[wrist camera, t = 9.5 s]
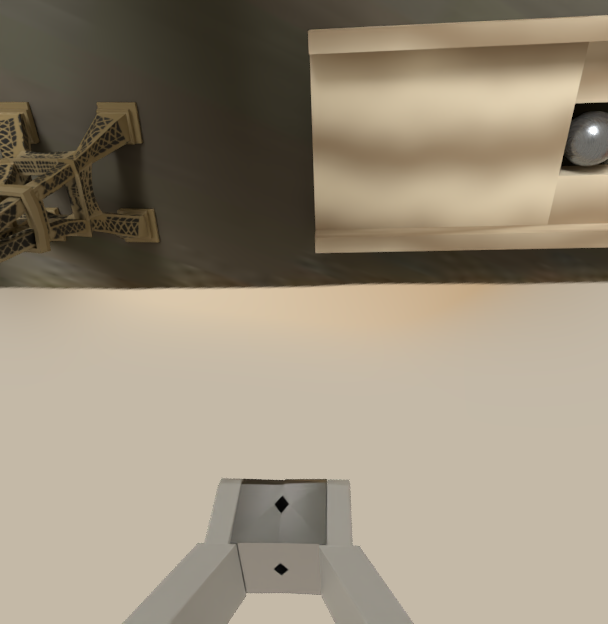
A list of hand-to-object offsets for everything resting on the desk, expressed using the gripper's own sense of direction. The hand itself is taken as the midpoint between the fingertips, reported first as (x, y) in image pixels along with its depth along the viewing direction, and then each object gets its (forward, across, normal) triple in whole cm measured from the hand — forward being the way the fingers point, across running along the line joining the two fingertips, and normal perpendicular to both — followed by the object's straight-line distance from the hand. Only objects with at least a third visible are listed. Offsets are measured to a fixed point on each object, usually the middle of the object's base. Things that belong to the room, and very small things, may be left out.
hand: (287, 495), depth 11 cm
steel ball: (+27, -18, -2) cm, 33 cm away
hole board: (+29, -13, -2) cm, 32 cm away
